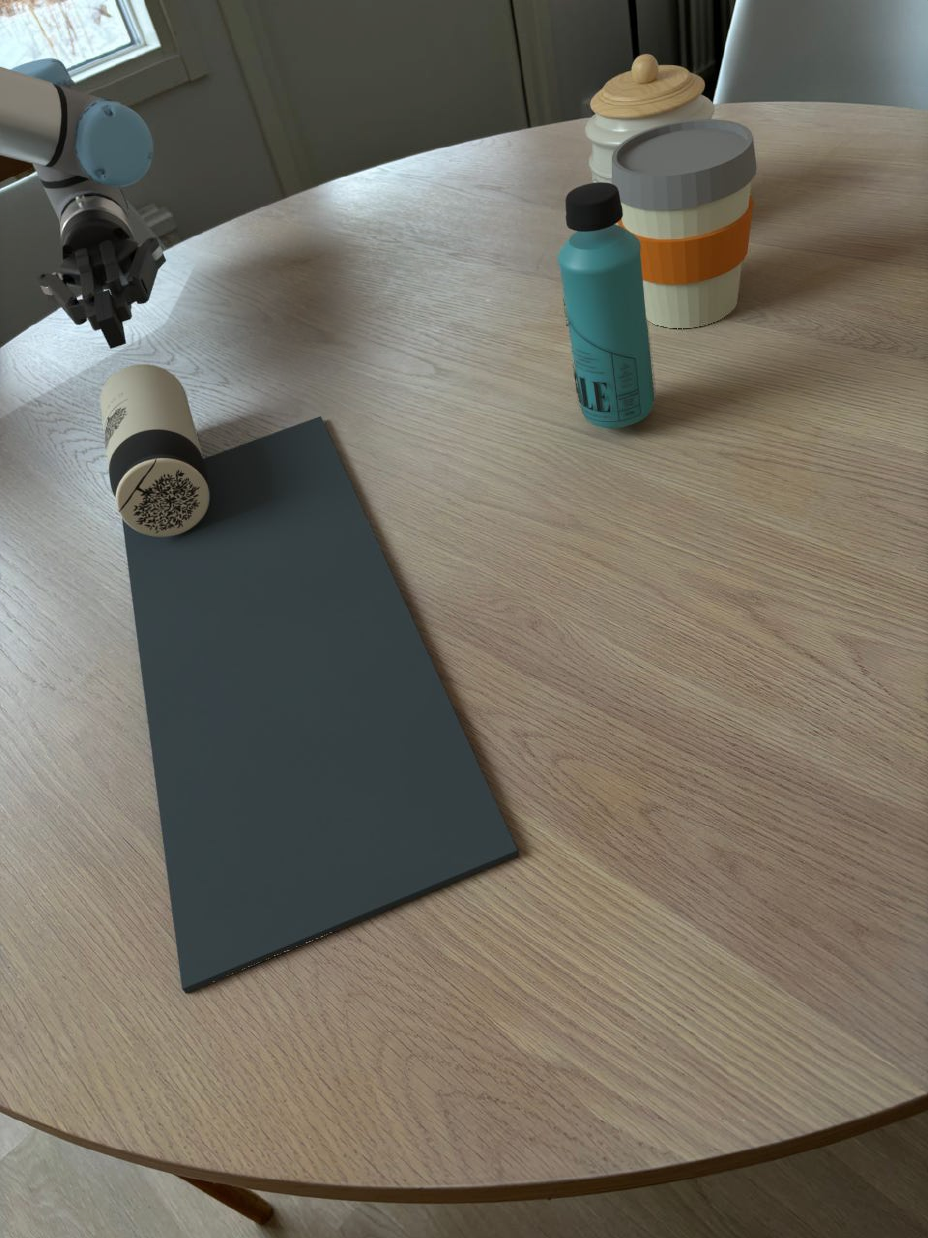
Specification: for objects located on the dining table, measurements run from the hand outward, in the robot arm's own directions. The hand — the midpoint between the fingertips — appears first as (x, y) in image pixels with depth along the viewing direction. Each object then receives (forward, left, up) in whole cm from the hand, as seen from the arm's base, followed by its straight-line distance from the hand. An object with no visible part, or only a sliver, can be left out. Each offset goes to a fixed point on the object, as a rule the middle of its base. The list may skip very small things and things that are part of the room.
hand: (111, 332), depth 91 cm
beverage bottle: (+38, -23, -12) cm, 46 cm away
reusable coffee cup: (+52, -9, -12) cm, 54 cm away
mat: (+5, -33, -12) cm, 35 cm away
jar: (+57, +8, -12) cm, 59 cm away
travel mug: (0, +1, -7) cm, 7 cm away
